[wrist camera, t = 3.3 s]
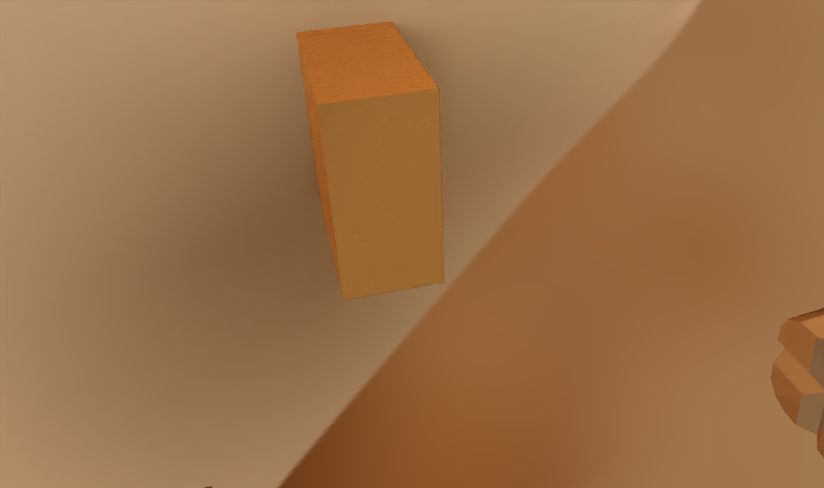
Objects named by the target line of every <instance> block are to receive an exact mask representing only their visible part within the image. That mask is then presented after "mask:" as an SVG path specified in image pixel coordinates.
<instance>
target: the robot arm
mask: <svg viewBox="0 0 824 488" xmlns="http://www.w3.org/2000/svg"><path fill="white" fill-rule="evenodd" d="M778 341H779V342H780V343H781V344H782V345H783V346H784V347H785V349H784V350H783V351H782V352H781V353H780V355H779V356H778V357H777V358H776V359H775V360H774V362H773V367H772V374H771V380H772V384H773V388H774V391H775V395H776V398H777V399H778V401H779V403H780V405H781V406H782V408H783V410H784V411H785V412H786V414H787V415H788V416H789V417H790V418H791V420H792V421H793V422H794V423H795V424H796V425H798V426H800V427H802V428H804V429H806V430H809V431H811V432H813V433H816V434H817V450H818V451H819V452H820V454H821V455H822V456H823V457H824V308H822V309H819V310H816V311H812V312H809V313H806V314H802V315H799V316H796V317H792V318H789V319H787V320H786V321H785V322H784V323H783V324H782V325H781V327H780V331H779V335H778ZM205 488H212V487H211V486H210V487H205Z"/></svg>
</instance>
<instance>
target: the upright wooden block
mask: <svg viewBox="0 0 824 488" xmlns="http://www.w3.org/2000/svg"><path fill="white" fill-rule="evenodd" d="M297 39H298V46H299V53H300V60H301V67H302V74H303V81H304V88H305V95H306V102H307V109H308V116H309V123H310V130H311V137H312V144H313V151H314V158H315V166H316V173H317V180H318V187H319V194H320V200H321V205H322V209H323V213H324V218H325V222H326V226H327V231H328V235H329V239H330V244H331V248H332V252H333V257H334V261H335V265H336V270H337V274H338V278H339V283H340V287H341V291H342V296H343V300H347V299H352V298H358V297H364V296H369V295H375V294H381V293H386V292H392V291H398V290H403V289H409V288H414V287H420V286H426V285H431V284H437V283H443V282H444V262H443V225H442V187H441V149H440V112H439V88H438V87H437V85H436V84H435V82H434V81H433V80H432V78H431V77H430V75H429V74H428V73H427V71H426V70H425V68H424V67H423V66H422V64H421V63H420V61H419V60H418V59H417V57H416V56H415V54H414V53H413V51H412V50H411V49H410V47H409V46H408V44H407V43H406V42H405V40H404V39H403V37H402V36H401V35H400V33H399V32H398V30H397V29H396V28H395V26H394V25H393V23H392V22H384V23H375V24H366V25H358V26H349V27H340V28H331V29H323V30H314V31H305V32H297Z"/></svg>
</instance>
